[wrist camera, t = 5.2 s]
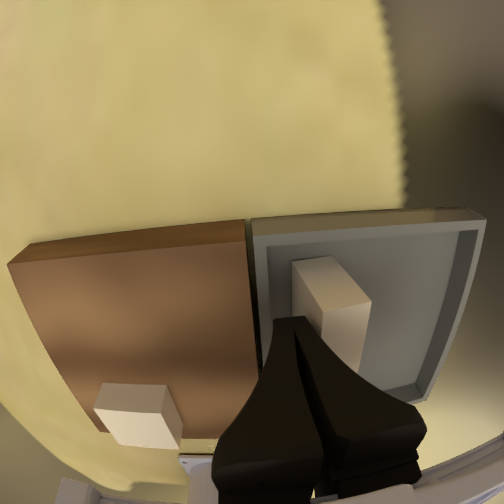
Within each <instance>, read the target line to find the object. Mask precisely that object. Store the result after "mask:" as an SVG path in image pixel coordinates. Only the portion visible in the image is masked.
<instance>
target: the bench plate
mask: <svg viewBox="0 0 504 504" xmlns="http://www.w3.org/2000/svg"><path fill="white" fill-rule="evenodd" d="M7 267H8V269H9V272H10V274H11V277H12V279H13V282H14V284H15V287H16V289H17V292H18V294H19V296H20V298H21V301H22V303H23V305H24V307H25V309H26V312H27V314H28V316H29V318H30V320H31V322H32V324H33V326H34V328H35V330H36V332H37V334H38V336H39V338H40V340H41V342H42V343H43V345H44V347H45V349H46V351H47V352H48V354H49V356H50V358H51V360H52V361H53V363H54V365H55V366H56V368H57V370H58V371H59V373H60V375H61V376H62V378H63V379H64V381H65V383H66V384H67V386H68V387H69V389H70V390H71V392H72V393H73V395H74V396H75V398H76V399H77V401H78V402H79V404H80V405H81V407H82V408H83V410H84V411H85V412H86V414H87V415H88V416H89V418H90V419H91V421H92V422H93V423H94V425H95V426H96V427H97V429H98V430H99V431H100V432H107V433H110V431H109V430H108V429H107V427H106V426H105V425H104V423H103V422H102V420H101V419H100V418H99V416H98V415H97V413H96V412H95V411H94V409H93V407H94V404H95V401H96V399H97V396H98V393H99V391H100V388H101V385H102V383H103V382H104V383H120V384H144V385H167V388H168V390H169V393H170V395H171V397H172V400H173V402H174V404H175V407H176V409H177V411H178V414H179V416H180V418H181V420H182V422H183V428H182V436H181V438H185V439H219V438H220V436H221V435H222V434H223V432H224V431H225V430H226V429H227V428H228V427H229V425H230V424H231V423H232V422H233V420H234V419H235V418H236V416H237V415H238V414H239V412H240V411H241V409H242V408H243V406H244V405H245V403H246V402H247V400H248V398H249V397H250V395H251V393H252V391H253V389H254V387H255V385H256V383H257V381H258V379H259V371H258V361H257V351H256V340H255V330H254V319H253V309H252V298H251V287H250V277H249V266H248V255H247V244H246V233H245V223H244V219H243V220H232V221H221V222H210V223H200V224H190V225H180V226H170V227H161V228H152V229H143V230H134V231H125V232H117V233H109V234H101V235H93V236H85V237H77V238H70V239H62V240H55V241H48V242H41V243H34V244H29V245H28V246H27V247H26V248H25V249H23V250H22V251H21V252H20V253H19V254H18V255H16V256H15V257H14V258H13V259H12V260H11V261H10V262H9V263H7Z"/></svg>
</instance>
